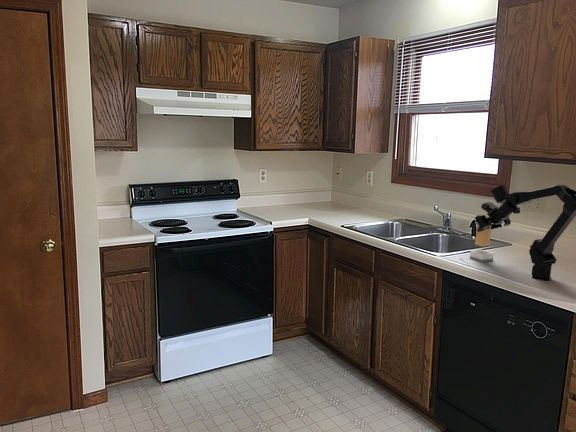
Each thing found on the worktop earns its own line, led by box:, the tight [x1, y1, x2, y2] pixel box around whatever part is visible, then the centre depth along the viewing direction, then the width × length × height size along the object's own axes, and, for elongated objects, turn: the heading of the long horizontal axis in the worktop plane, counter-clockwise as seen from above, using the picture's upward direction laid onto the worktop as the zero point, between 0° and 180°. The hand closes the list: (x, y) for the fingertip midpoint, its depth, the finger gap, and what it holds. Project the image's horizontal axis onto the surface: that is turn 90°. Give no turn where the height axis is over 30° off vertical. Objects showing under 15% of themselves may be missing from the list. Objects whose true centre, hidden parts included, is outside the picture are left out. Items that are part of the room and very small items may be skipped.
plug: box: [474, 222, 492, 247], centre depth 225 cm, size 4×4×12 cm
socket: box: [469, 249, 494, 263], centre depth 227 cm, size 7×7×4 cm
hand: (481, 230), depth 226 cm, fingers closed on plug, 4 cm apart
